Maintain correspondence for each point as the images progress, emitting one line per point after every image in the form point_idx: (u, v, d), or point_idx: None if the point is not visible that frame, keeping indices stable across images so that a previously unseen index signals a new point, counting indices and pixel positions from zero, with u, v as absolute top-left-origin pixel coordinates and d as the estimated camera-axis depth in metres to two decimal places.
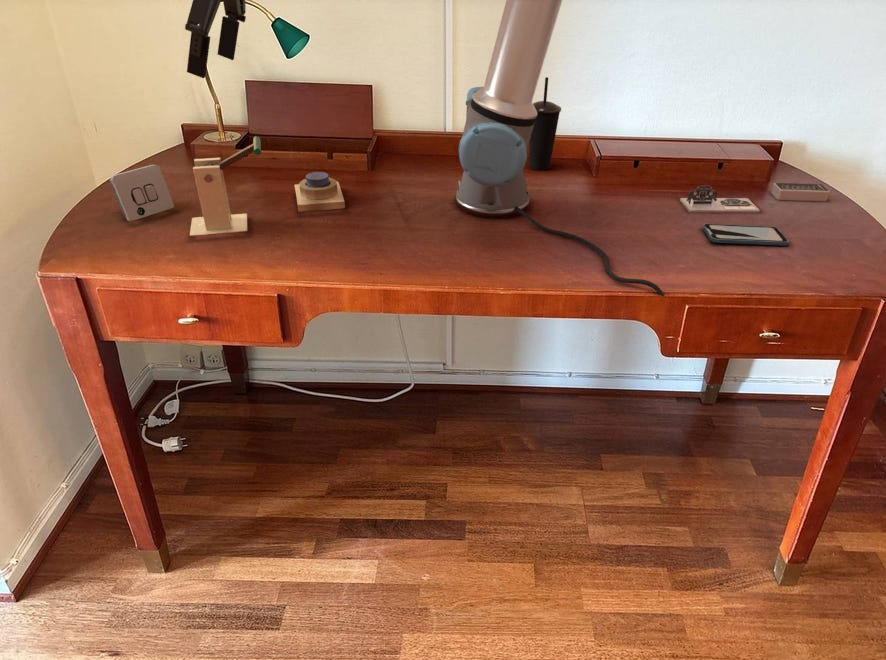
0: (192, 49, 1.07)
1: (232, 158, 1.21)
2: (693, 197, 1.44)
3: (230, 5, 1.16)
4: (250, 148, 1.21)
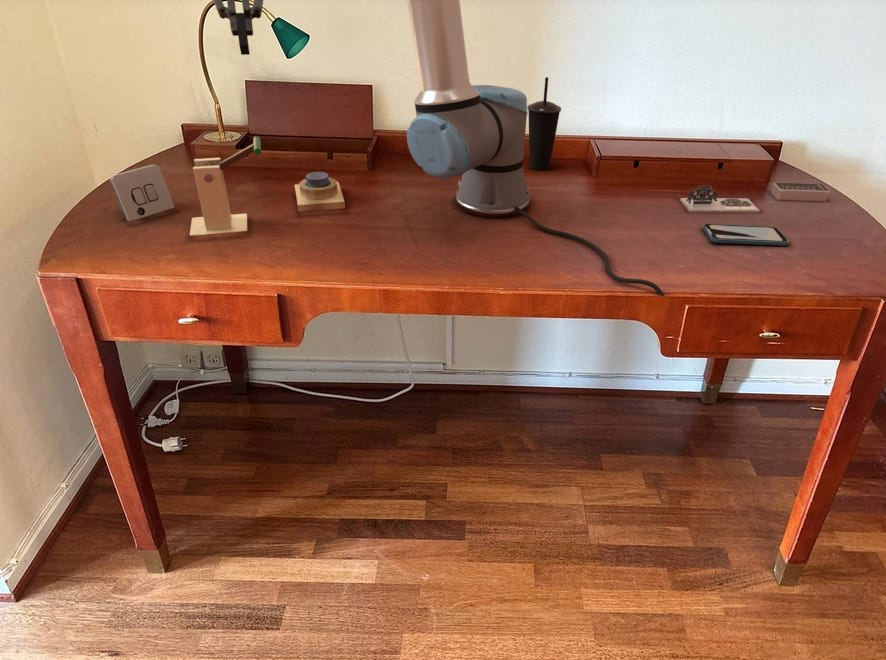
0: (231, 30, 1.25)
1: (232, 158, 1.21)
2: (693, 197, 1.44)
3: None
4: (250, 148, 1.21)
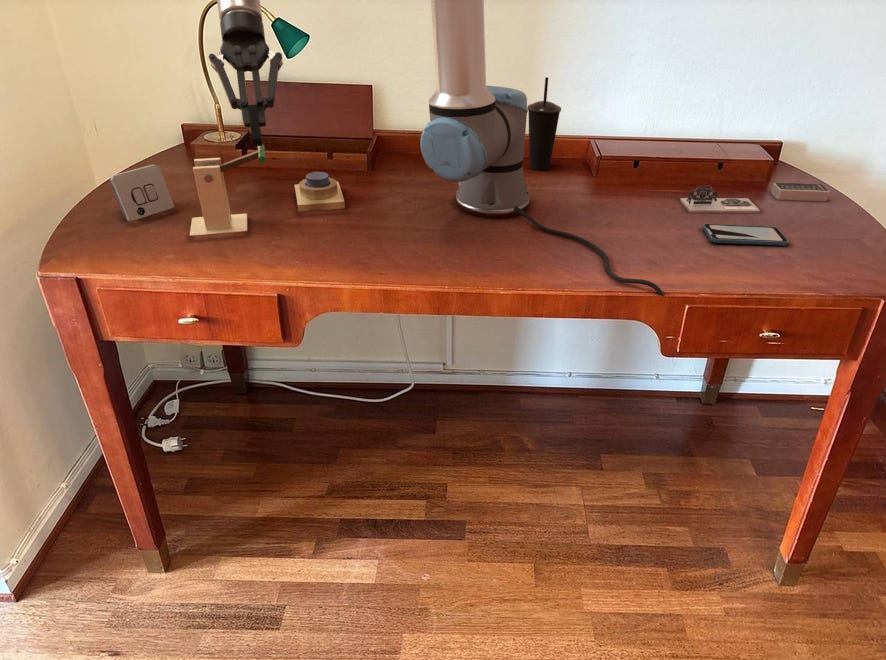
0: (243, 122, 1.22)
1: (235, 162, 1.22)
2: (693, 197, 1.44)
3: None
4: (254, 155, 1.22)
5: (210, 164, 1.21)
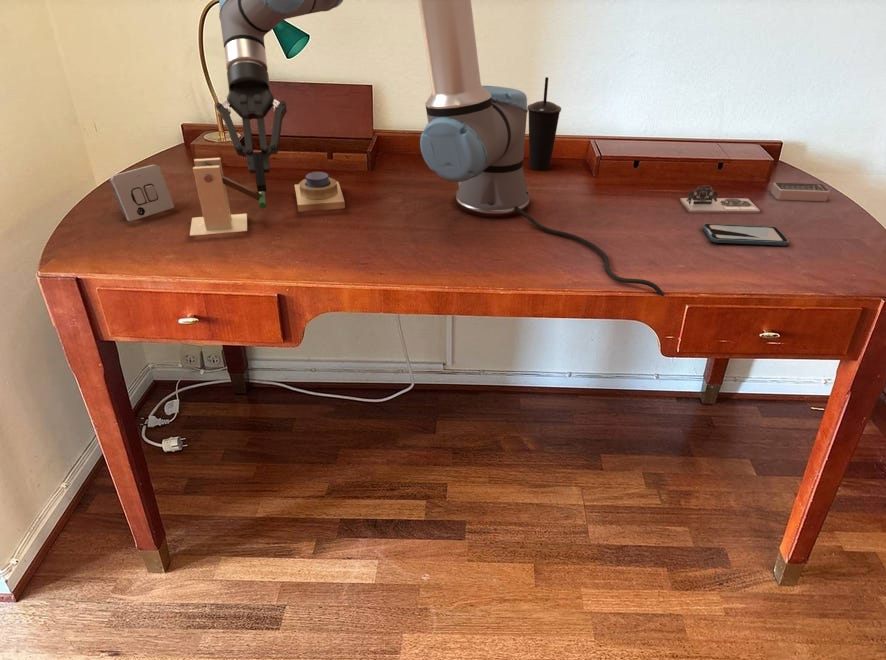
0: (248, 168, 1.27)
1: (237, 185, 1.24)
2: (693, 197, 1.44)
3: None
4: (256, 195, 1.26)
5: None
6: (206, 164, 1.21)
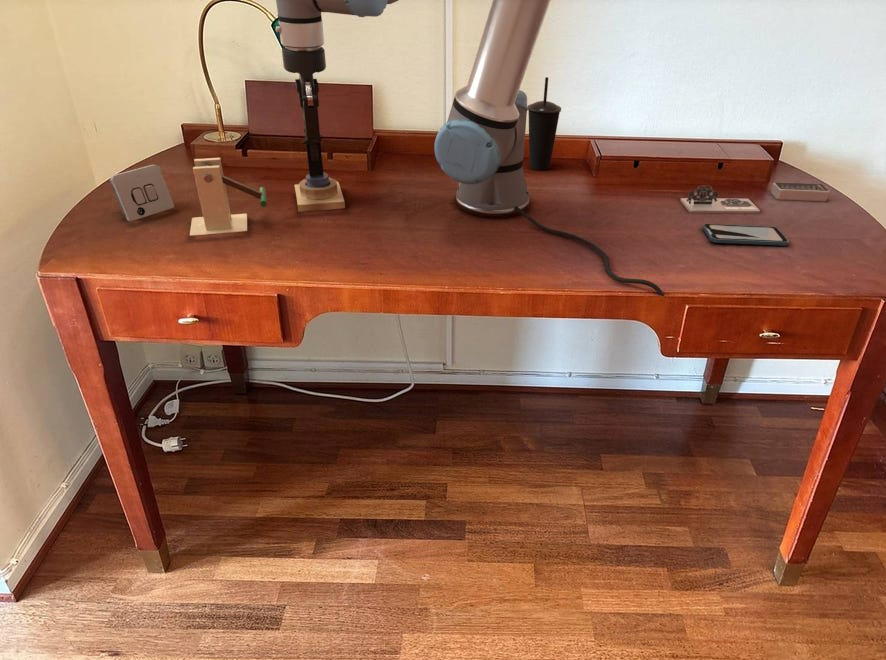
0: (312, 157, 1.32)
1: (237, 184, 1.24)
2: (693, 197, 1.44)
3: None
4: (257, 193, 1.26)
5: None
6: (206, 164, 1.21)
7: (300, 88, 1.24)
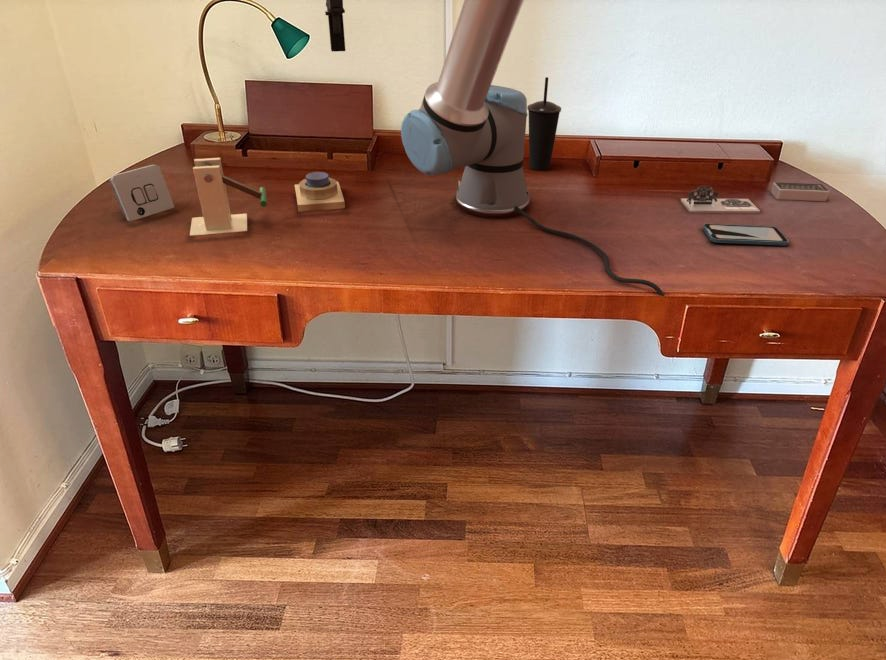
0: (335, 29, 1.33)
1: (237, 184, 1.24)
2: (693, 197, 1.44)
3: None
4: (257, 193, 1.26)
5: None
6: (206, 164, 1.21)
7: None
